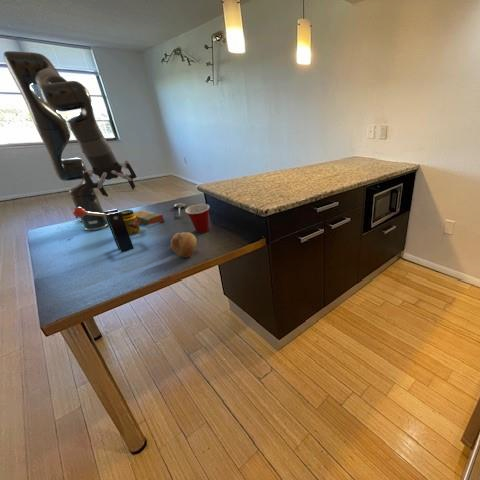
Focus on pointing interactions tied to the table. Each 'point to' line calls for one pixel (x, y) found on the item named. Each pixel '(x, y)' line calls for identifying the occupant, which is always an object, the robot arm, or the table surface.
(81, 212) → the tap lever
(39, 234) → the table surface
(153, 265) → the table surface
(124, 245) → the black tall block
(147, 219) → the carton
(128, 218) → the condiment
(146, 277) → the table surface
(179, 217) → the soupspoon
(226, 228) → the table surface
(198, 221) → the plastic cup
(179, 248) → the bread roll
